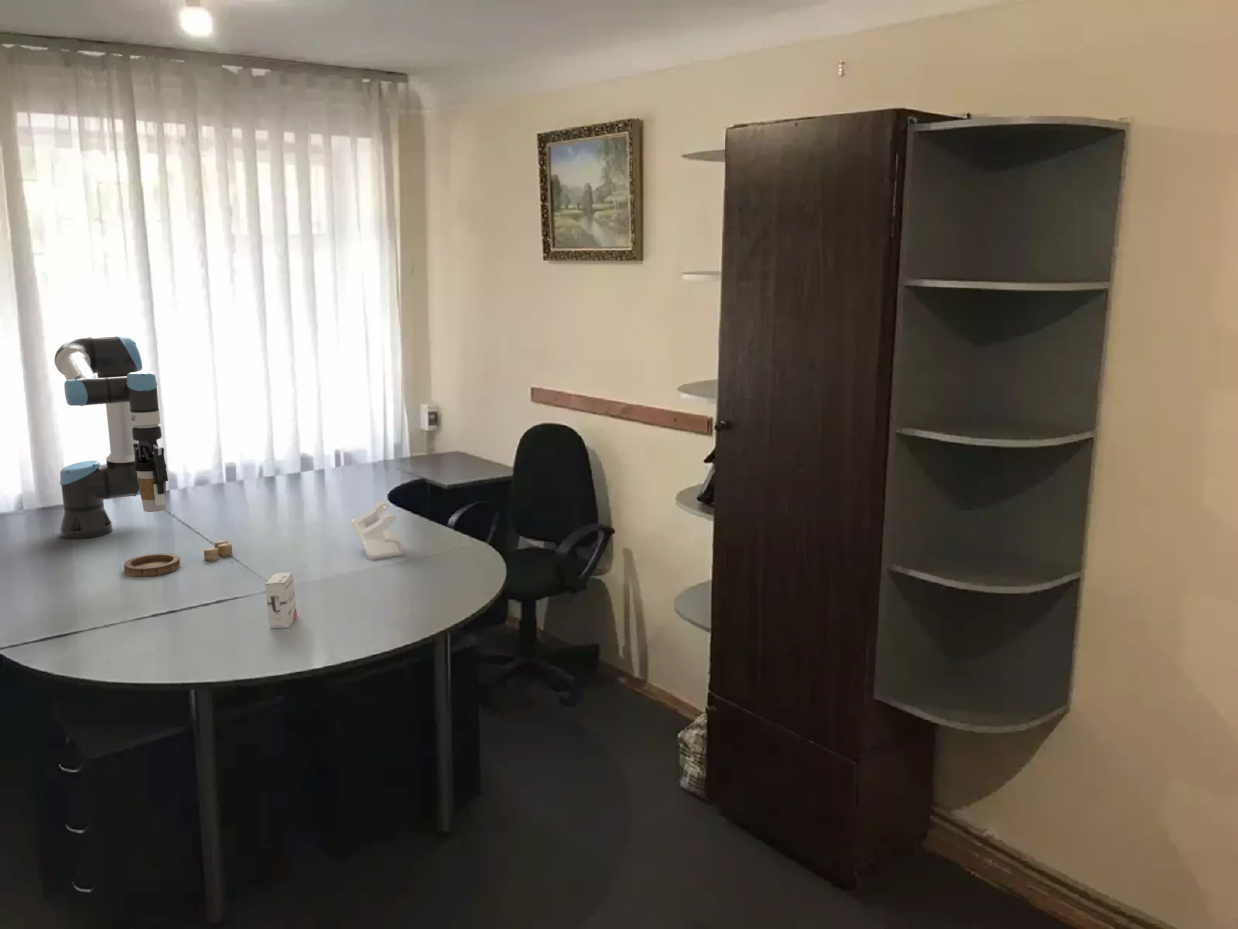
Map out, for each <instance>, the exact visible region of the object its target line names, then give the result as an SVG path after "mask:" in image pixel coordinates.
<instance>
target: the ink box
mask: <svg viewBox="0 0 1238 929" xmlns="http://www.w3.org/2000/svg"><path fill="white" fill-rule="evenodd" d="M294 583H295V582H294V576H293V572H279V573H278V572H277V573H273V575H271V577H270V578H269V579H268V580H267V582H266V583H265V584H264V587H265V595H266V604H267V605H266V606H267V613H268V614H267V615H268V622H269V628H270V629H289V628H290V626H292V623H293V622H294V621H295V619H296V617H297V616H298V615H297V614H298V613H297V612H298V611H297V605H296V594H295V587H294V586H295V585H294Z"/></svg>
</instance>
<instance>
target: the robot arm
mask: <svg viewBox="0 0 1238 929" xmlns="http://www.w3.org/2000/svg"><path fill="white" fill-rule="evenodd" d="M54 365H55V367H56V369H57V370H58V372H59V373H60V374H62V375H63V376H64V377H65V379H66V380H65V381H64V384H63V386H64V389H63V390H64V396H65V399H66V403H67V404H68V405H69V406H72V407H73V406H75V407H76V406H80V407H83V406H92V405H93V406H94V405H105V409H106V418H107V427H108V440H109V447H110V448H109V449H110V453H109V455H108V456H107V457H106V460H105V461H106V462H105V464H100V462H99V461H98V460H85V461H80V462H76V463H72V464H69V465H67V466H65V467H63V468H62V469H61V470H60V472H59V476H60V477H59V478H60V481H59V484H60V486H61V487H60V488H61V495H62V503H63V515H62V516H63V517H62V519H61V523H60V530H59V531H60V537H61V538H66V539H73V540H74V539H88V538H94V537H98V536H104V535H106V534H109V533H111V532H112V531H113V522H112V521H111V518H110V517H109V515H108V513H107V510H106V509H105V506H104V505H105V502H104V500H109V499H111V500H112V499H120V498H129V497H137V496H141V494H140V490H139V485H138V480H137V477H138V476H137V471H135V462H136V461H139V460H141V463H146V462H155V466H153V465H152V468H153V471H152V472H153V477H154V481H155V482H153V485H154V495H155V505H156V506H158V505H163V504H166V505H167V498H166V499H165V489H164V482H165V481H166V482H168V481H169V478H168V471H167V470H168V469H167V468H166V467H167V464H166V460H165V449H164V447H159V443H158V440H159V439H160V440H161V438H162V426H160V424H161V414H160V413H161V412H160V408H159V407H160V406H159V398H158V397H159V395H158V382H157V379H156V378H157V377H156V374H155V372H153V371H142V370H143V361H142V358H141V352H140V350H139V346H138V344H137V342H136V339H135V338H134V337H133V336H131V335H118V334H117V335H102V336H100V335H99V336H98V335H97V336H81V337H76V338H74V339H70V340H68V341H66V342H65V343H63V344H62V345H61V346H59V348H58V349H57V351H56V353H55V354H54ZM96 374H97V375H96ZM165 464H166V465H165Z"/></svg>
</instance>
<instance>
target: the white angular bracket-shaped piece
mask: <svg viewBox="0 0 1238 929" xmlns="http://www.w3.org/2000/svg"><path fill="white" fill-rule="evenodd" d="M389 508H390V504H389V502H388V501H387V500H380V501H378V502H376V504H375V505H374V506H373V508H372V509H370V510H368V511H366V512H364V513H363V514H361V515H360V516H357V517H356V518H353V519H352V520H351V526H352V528H353V530H354V533H355V534H356V537H357V538H358V540H359V542H360V545H361V546H362V548H363V549H364V550H363V551H364V552H365V554H366V556H367V558H368V559H369V560H373V561H374V560H380V559H386V558H390V557H391V558H392V557H396V556H402V555H403V551H404V545H403V543H402V541H401V539H400V536H398V535H397V533H395V532H393V531H392V529H391V528H390V526H389V524H393V523H394V522H395V521H396V519H397V517H396V516H395V514H394V513H393V512H388V513H384V514H383V513H382V512H384V511H387V510H388V509H389Z"/></svg>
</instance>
